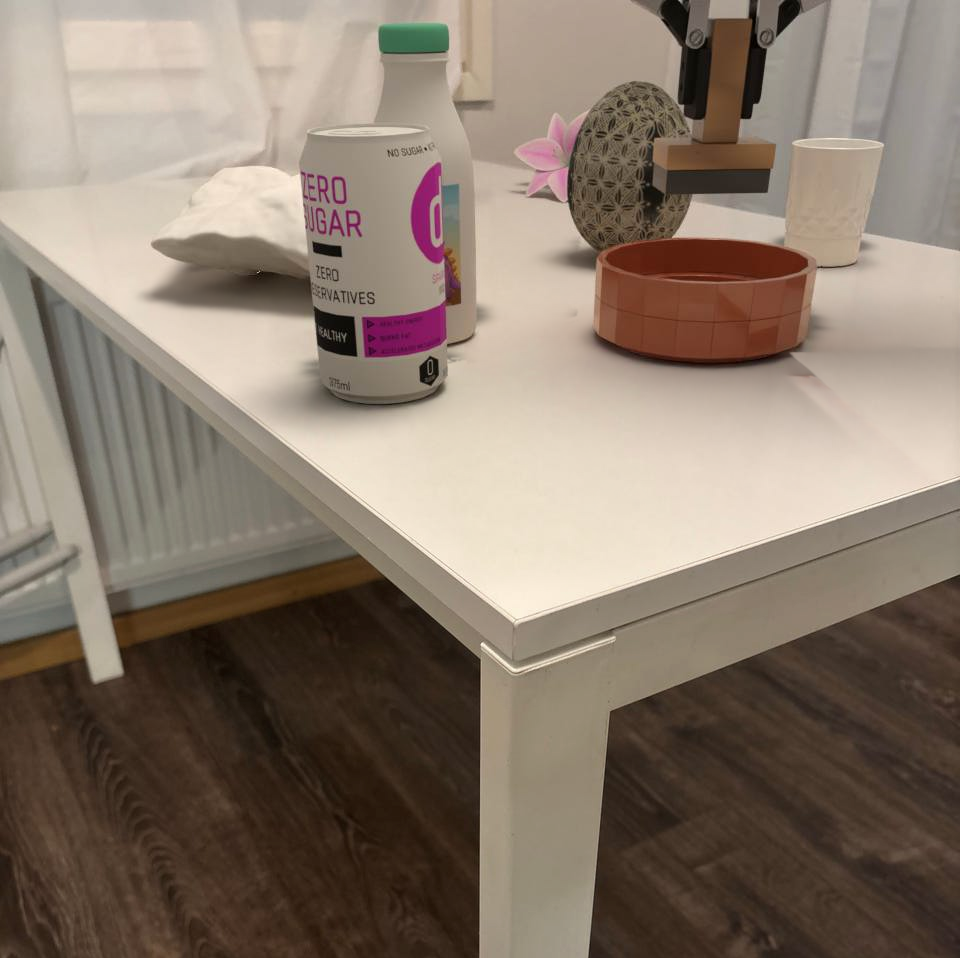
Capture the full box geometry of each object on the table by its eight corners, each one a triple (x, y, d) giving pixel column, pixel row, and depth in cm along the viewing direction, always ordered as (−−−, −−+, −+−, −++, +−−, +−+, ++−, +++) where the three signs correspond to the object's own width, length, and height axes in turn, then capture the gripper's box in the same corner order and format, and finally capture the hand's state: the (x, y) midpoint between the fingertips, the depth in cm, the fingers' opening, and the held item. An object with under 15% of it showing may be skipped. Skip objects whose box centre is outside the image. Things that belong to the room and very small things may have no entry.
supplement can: (460, 370, 69) (454, 122, 61) (428, 411, 62) (416, 138, 54) (346, 364, 70) (326, 121, 62) (302, 403, 63) (273, 137, 55)
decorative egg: (550, 249, 102) (554, 79, 94) (661, 243, 103) (674, 75, 96) (584, 275, 92) (592, 87, 84) (706, 268, 94) (725, 83, 86)
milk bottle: (406, 316, 81) (391, 22, 70) (493, 327, 78) (492, 21, 67) (354, 341, 75) (330, 24, 64) (447, 354, 72) (437, 24, 61)
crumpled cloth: (204, 322, 75) (204, 188, 70) (105, 238, 101) (100, 137, 96) (480, 326, 86) (495, 211, 82) (327, 250, 112) (332, 160, 107)
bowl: (766, 307, 82) (775, 234, 79) (836, 363, 69) (851, 279, 66) (579, 313, 81) (582, 240, 78) (615, 371, 68) (620, 287, 65)
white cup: (763, 262, 95) (779, 145, 90) (793, 248, 101) (809, 136, 95) (847, 272, 91) (868, 150, 86) (874, 256, 97) (895, 140, 92)
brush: (750, 183, 72) (772, 17, 66) (769, 193, 68) (794, 18, 63) (650, 185, 71) (663, 18, 66) (664, 195, 68) (679, 19, 62)
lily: (511, 197, 135) (493, 131, 127) (587, 155, 136) (574, 87, 128) (553, 241, 128) (537, 174, 121) (633, 196, 129) (623, 127, 121)
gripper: (628, -263, 54) (606, 125, 64) (923, -260, 55) (857, 121, 65) (603, -235, 60) (587, 114, 70) (867, -233, 61) (815, 111, 71)
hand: (717, 114), depth 67 cm, fingers closed on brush, 2 cm apart
